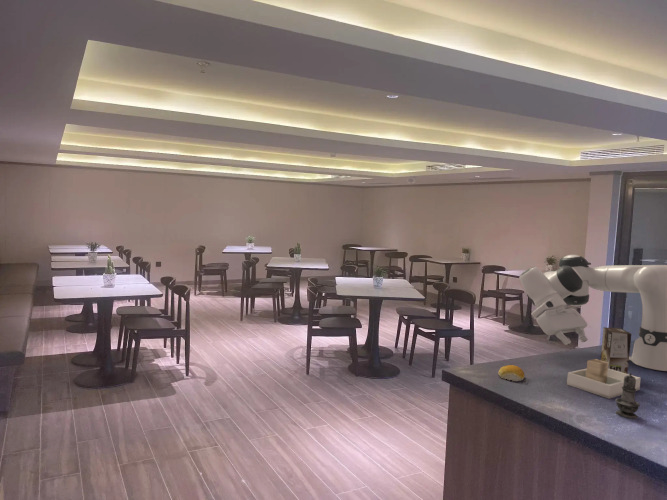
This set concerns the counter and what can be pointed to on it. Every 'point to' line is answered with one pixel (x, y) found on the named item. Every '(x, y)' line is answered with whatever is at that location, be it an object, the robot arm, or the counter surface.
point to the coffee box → (616, 348)
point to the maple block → (597, 370)
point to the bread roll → (511, 373)
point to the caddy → (600, 383)
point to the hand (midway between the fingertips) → (576, 342)
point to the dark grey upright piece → (628, 399)
